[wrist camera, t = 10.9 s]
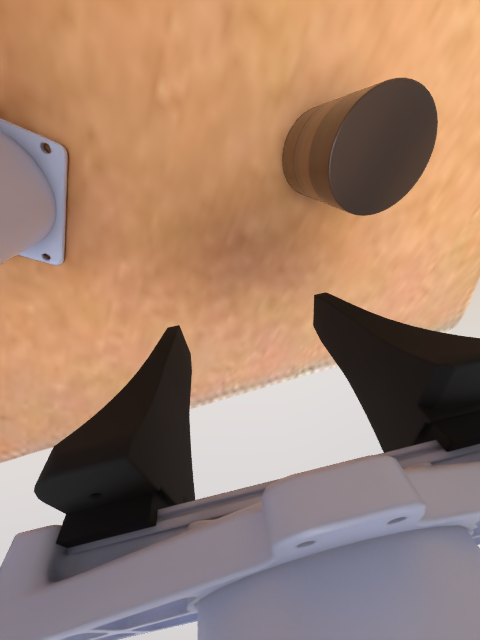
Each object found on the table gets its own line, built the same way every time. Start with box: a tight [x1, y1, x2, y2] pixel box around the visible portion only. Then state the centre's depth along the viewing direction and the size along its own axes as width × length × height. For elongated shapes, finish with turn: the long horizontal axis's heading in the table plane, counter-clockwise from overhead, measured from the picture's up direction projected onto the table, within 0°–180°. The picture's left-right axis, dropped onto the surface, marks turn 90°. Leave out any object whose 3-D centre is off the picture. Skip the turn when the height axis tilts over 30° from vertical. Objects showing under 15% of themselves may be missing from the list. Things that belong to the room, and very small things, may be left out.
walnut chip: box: [309, 78, 438, 216], centre depth 12 cm, size 5×5×2 cm
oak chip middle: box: [294, 92, 355, 203], centre depth 14 cm, size 5×5×2 cm
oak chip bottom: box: [282, 101, 331, 197], centre depth 16 cm, size 5×5×2 cm
